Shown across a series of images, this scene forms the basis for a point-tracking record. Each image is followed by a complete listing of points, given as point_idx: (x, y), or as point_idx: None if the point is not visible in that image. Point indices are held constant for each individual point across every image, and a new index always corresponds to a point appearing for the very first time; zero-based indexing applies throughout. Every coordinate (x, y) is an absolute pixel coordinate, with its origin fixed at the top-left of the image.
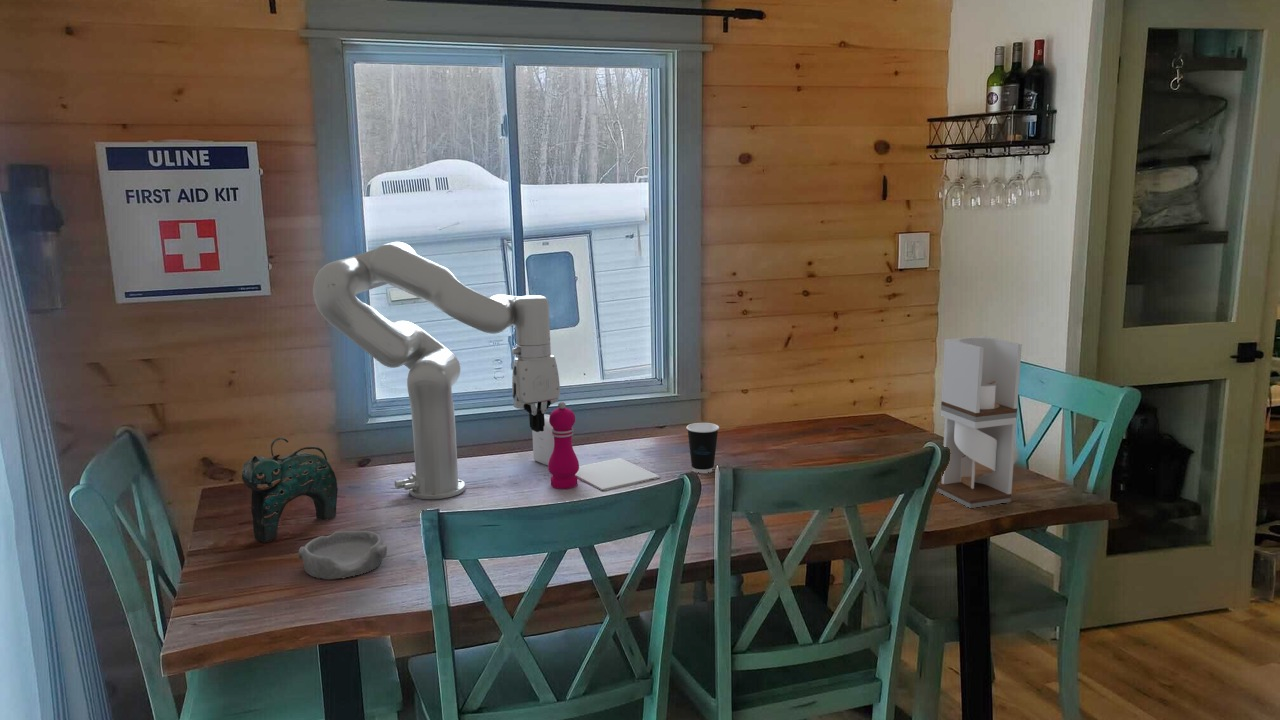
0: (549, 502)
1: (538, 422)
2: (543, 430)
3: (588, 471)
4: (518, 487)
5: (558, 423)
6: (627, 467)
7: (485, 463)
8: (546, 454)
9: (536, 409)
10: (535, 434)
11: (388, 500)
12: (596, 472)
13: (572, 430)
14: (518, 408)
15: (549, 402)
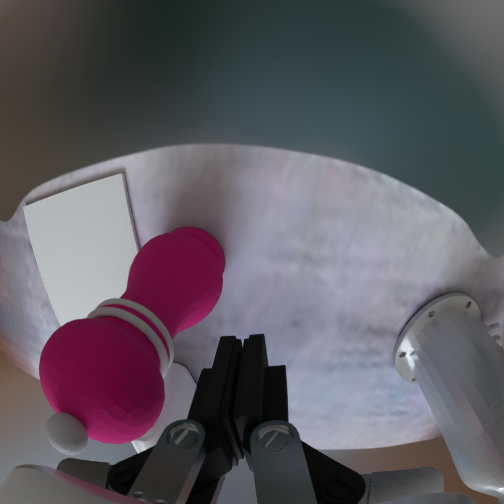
0: (272, 148)
1: (249, 372)
2: (222, 336)
3: None
4: (302, 295)
5: (121, 345)
6: (56, 284)
7: (297, 429)
8: (189, 397)
9: (224, 474)
10: None
11: (497, 321)
12: (107, 290)
13: (86, 317)
14: (416, 468)
15: (116, 478)
